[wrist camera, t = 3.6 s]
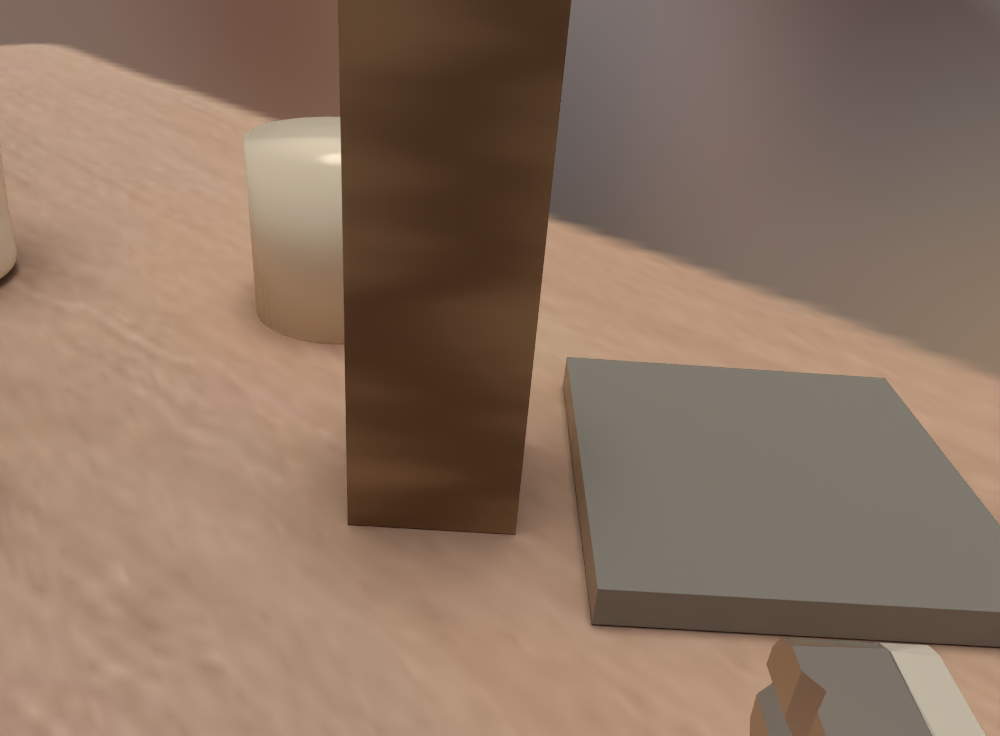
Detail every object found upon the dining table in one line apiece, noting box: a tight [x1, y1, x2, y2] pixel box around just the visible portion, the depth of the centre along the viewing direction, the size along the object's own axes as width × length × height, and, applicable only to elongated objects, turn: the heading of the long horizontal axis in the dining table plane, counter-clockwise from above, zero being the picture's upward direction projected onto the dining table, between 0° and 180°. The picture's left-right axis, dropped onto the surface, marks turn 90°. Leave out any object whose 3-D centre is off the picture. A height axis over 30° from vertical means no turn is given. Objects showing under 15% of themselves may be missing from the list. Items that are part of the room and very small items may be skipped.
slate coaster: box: [563, 357, 1000, 647], centre depth 22 cm, size 10×10×1 cm
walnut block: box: [338, 0, 571, 534], centre depth 19 cm, size 4×4×12 cm
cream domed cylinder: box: [244, 117, 345, 344], centre depth 29 cm, size 6×6×6 cm
